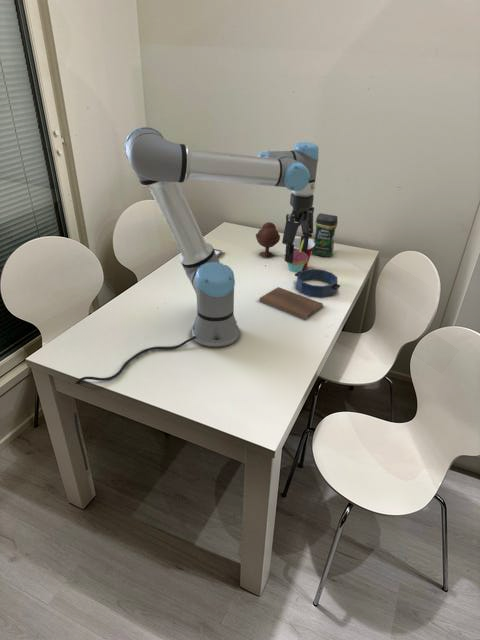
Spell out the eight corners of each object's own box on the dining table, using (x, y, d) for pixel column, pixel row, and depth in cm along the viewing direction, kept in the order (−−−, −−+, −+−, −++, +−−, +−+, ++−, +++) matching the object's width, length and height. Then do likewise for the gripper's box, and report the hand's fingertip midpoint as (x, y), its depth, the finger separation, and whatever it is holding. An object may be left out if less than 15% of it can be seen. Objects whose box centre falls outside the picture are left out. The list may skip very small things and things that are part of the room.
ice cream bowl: (250, 252, 210) (252, 221, 202) (271, 249, 214) (274, 218, 206) (261, 261, 202) (263, 229, 194) (283, 257, 206) (285, 225, 198)
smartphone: (192, 259, 199) (208, 247, 211) (192, 261, 200) (208, 249, 211) (207, 262, 196) (222, 250, 208) (207, 264, 197) (222, 252, 209)
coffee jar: (309, 254, 210) (314, 215, 200) (314, 249, 216) (319, 210, 206) (330, 258, 207) (336, 219, 197) (334, 252, 213) (340, 213, 203)
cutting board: (305, 319, 160) (305, 316, 159) (259, 301, 171) (259, 297, 170) (322, 307, 168) (323, 303, 167) (278, 290, 179) (278, 286, 178)
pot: (326, 302, 171) (328, 291, 169) (285, 287, 181) (286, 277, 179) (346, 288, 182) (348, 278, 179) (306, 274, 191) (307, 264, 189)
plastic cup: (285, 272, 193) (287, 245, 187) (288, 262, 202) (291, 236, 196) (310, 275, 191) (313, 248, 185) (313, 265, 200) (316, 239, 194)
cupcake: (306, 265, 166) (310, 234, 160) (307, 275, 159) (311, 243, 152) (283, 264, 166) (285, 232, 160) (282, 274, 159) (285, 241, 153)
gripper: (294, 203, 139) (287, 270, 151) (328, 189, 154) (320, 252, 165) (274, 198, 143) (269, 264, 155) (309, 185, 158) (303, 246, 169)
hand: (296, 257), depth 160 cm, fingers closed on cupcake, 8 cm apart
